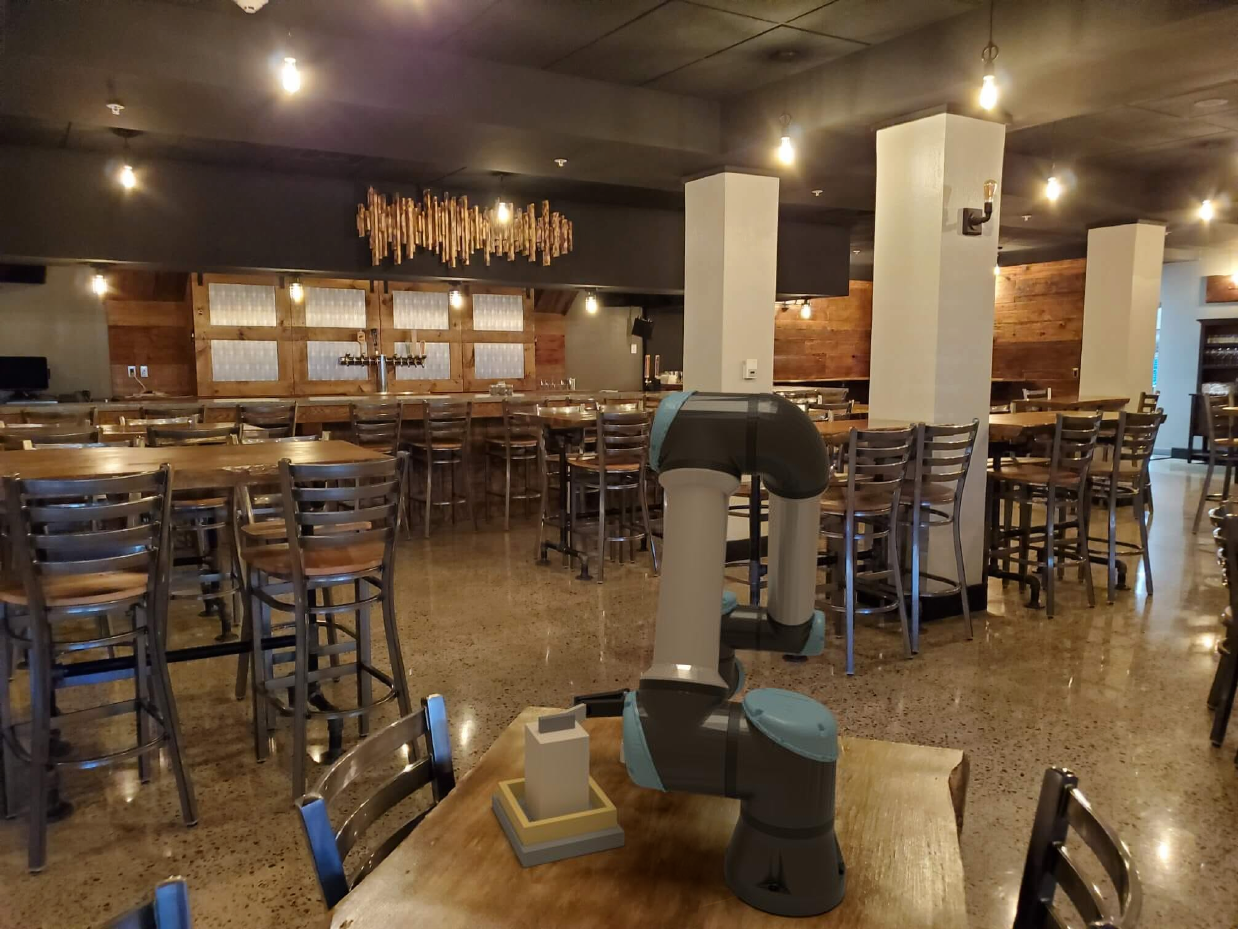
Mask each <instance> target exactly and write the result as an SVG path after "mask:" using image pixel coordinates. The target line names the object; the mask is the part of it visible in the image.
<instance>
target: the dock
mask: <svg viewBox="0 0 1238 929" xmlns="http://www.w3.org/2000/svg"><path fill="white" fill-rule="evenodd" d="M491 808H492V810H493V812H494V814H495V815H496V818H497V820H498V821H499V823H500V826H501V827H502V830H503V831H504V833H505V836H506V837H507V839H508V841H509V843H510V844H511V846H512V847H511V848H513V851H514V852H515V855H516V856H517V859H518V860H519V862H520V863H521V864H520V865H521V867H523V868H524V869H525V868H528V867H533V866H538V865H539V866H540V865H542V864H548V863H552V862H556V861H561V860H565V859H569V858H574V857H578V856H579V857H580V856H583V855H589V854H592V853H596V852H597V853H598V852H601V851H605V850H606V851H607V850H611V849H616V848H621V847H624V846H625V830H624V829H623V827H622V826H621V825H620V824H619V822H618V809H617V807H616V806H615V805H614V804H613V802H612V801H611V800H610V799H609V797H608V796H607V795H606V793H605V792H604V791H603V790H602V788H601V787H600V786H599V784H597V782H596V781H595V780H594V779H593V777H592V776H591V775H590V774H589V811H585V812H580V813H575V814H570V815H565V816H560V817H555V818H550V819H545V820H540V821H534V819H533V818H532V816H531V814H530V813H529V811H528V810H527V808H526V806H525V777H520V778H516V779H515V778H514V779H509V780H504V781H499V782H497V793H494V794H491Z"/></svg>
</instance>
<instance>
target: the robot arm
mask: <svg viewBox="0 0 1238 929" xmlns="http://www.w3.org/2000/svg"><path fill="white" fill-rule="evenodd" d="M649 444H650V446H649V451H648V458H649V465H650V466H649V467H650V468H651V470H652V471H654V472H656V473H658V482H659V484H660V485H661V486H662V488H663V489H664V490H665V491H666V492H667V500H666V503H667V504H666V512H665V514H666V515H665V524H664V525H665V526H664V536H663V547H662V548H663V549H662V558H661V568H660V578H659V579H660V581H659V590H658V600H657V602H658V604H657V613H656V622H655V623H656V624H655V636H654V645H653V655H652V658H653V659H652V665H651V667H650V668H649V669H647V670H646V671H645V672H644V673H643V674H642V675H640V677H639V681H638V682H639V683H638V684H639V685H638V690H632V691H631V688H628V687H625V688H621V689H618V690H614V691H613V690H612V691H604V692H598V693H591V694H584V695H577V696H576V695H575V696H574V697H573V706H572V707H569V708H567V709H564V710H563V711H560V712H557V714H561V713H568V712H573V713H574V714H575V720H576V721H577V722H578V724H579V725H581V724H583V723H585V722H586V721H587V719H598V718H599V719H600V718H620V717H622V742H621V743H620V750H619V751H620V753H619V756H620V757H619V759H620V760H619V761H620V763H622V764H625V766H626V770H627V773H628V776H629V778H630V779H631V781H632V782H633V783H634V784H636V785H637V786H639V787H641V788H645V789H652V790H659V791H662V792H663V793H669V792H671V793H672V792H673V793H680V794H688V795H689V794H690V795H697V796H706V797H714V798H721V799H731V800H737V801H738V800H739V801H740V804H739V816H738V819H737V821H736V824H735V827H734V829H733V831H732V835H731V839H730V842H729V844H728V845H727V847H726V850H725V851H724V852H725V854H724V862H723V876H724V880H725V883H726V884H727V887H728V888H729V890H730V891H731V892H732V893H733V894H734V895H735V896H737V898H739V899H740V900H741V901H743V902H745V903H746V904H748V905H750V906H752V907H754V908H757V909H758V910H760V911H765V912H768V913H772V914H777V915H781V916H787V915H788V916H789V917H808V916H814V915H819V914H822V913H824V912H828V911H830V910H831V909H833V908H835V907H836V906H838V905H839V904H840V903H841V901H843V899H844V897H845V895H846V890H847V868H846V864H845V860H844V856H843V853H842V850H841V847H840V843H839V839H838V836H837V833H836V832H837V831H836V828H835V817H836V816H835V815H836V812H835V811H836V790H837V789H836V788H837V784H836V783H837V760H838V759H839V758H840V756H839V755H840V748H839V734H838V733H839V731H838V728H839V727H838V723H837V719H836V717H835V716H834V715H833V713H832V712H831V710H829V709H828V707H826V706H825V705H824V704H822V703H820V702H819V701H817V700H815V699H814V698H812V697H809V696H807V695H804V694H802V693H800V692H796V691H794V690H793V691H792V690H788V689H785V688H784V689H782V688H776V687H764V688H763V689H762V688H754V689H751V690H750V691H748V692H747V693H746V694H745V696H744V698H742V702H739V701H731V699H732V698H733V697H735V696H736V695H737V694H739V693H740V692H741V691H742V690H743V688H744V686H745V685H746V684H745V683H746V679H747V676H746V674H747V673H746V671H745V669H744V667H743V663H742V661H741V660H740V659H739V657H737V656H736V650H739V651H749V652H761V653H771V654H782V655H790V656H791V655H793V656H798V657H799V656H819V655H821V654H822V653H823V652H824V649H825V637H826V636H825V634H826V633H825V632H826V616H825V615H826V614H825V612H823V611H822V610H816V609H815V602H816V601H815V600H816V587H817V586H816V585H817V584H816V582H817V567H818V554H819V553H818V552H819V537H820V521H821V506H822V505H821V503H822V495H823V494H825V493H826V491H827V490H828V488H829V487H830V486H829V485H830V478H831V475H830V474H831V462H830V456H829V452H828V447H827V446H826V442H825V440H824V438H823V436H822V434H821V432H820V430H819V428H818V427H817V425H816V424H815V423H814V421H813V419H812V418H811V417H810V416H809V415H808V414H807V413H806V412H805V411H804V410H803V408H801V407H800V406H798V405H797V404H796V403H795V402H793V401H791V400H790V399H787V398H786V397H784V396H781V395H778V394H775V393H769V392H757V393H753V392H752V393H751V392H721V391H720V392H717V391H699V390H691V391H677V392H675V391H674V392H670V393H668V394H667V395H665V396H664V397H663V398H662V400H661V401H660V403H659V405H658V406H657V410H656V412H655V415H654V418H653V423H652V427H651V432H650V438H649ZM743 476H761V483H762V486H763V488H764V489H765V491H767V492H768V516H767V517H768V524H767V527H768V528H767V576H766V578H767V582H766V583H767V588H766V591H767V592H766V595H767V596H766V606H763V605H750V604H739V603H738V602H739V601H738V596H737V595H736V593H734V592H733V591H731V590H725V589H724V586H725V585H724V584H725V571H726V570H725V569H726V568H725V567H726V555H727V542H728V540H727V538H728V524H729V510H730V498H731V497H732V496H734V494H736V493H737V492H738V491H739V490H741V488H742V479H743V478H742V477H743Z"/></svg>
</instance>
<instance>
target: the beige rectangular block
mask: <svg viewBox="0 0 1238 929" xmlns="http://www.w3.org/2000/svg"><path fill="white" fill-rule="evenodd" d="M590 738H591V736H590V735H589V733H588V732H587V731H586V730H585V729H584V728H583V726H582V725H581V724H578V722H577V721H576V720H575V714H574V713H573V712H568V713H561V714H558V713H556V714H549V715H544V716H538V721H534V722H533V721H532V722H527V723H525V724H524V778H525V806H526V808H527V810H528V811H529V813H530V814H531V816H532V818H533V819H534V821H540V820H545V819H550V818H555V817H560V816H565V815H570V814H575V813H580V812H585V811H589V775H590V750H591V748H590V746H591V744H590V741H591V740H590Z"/></svg>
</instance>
